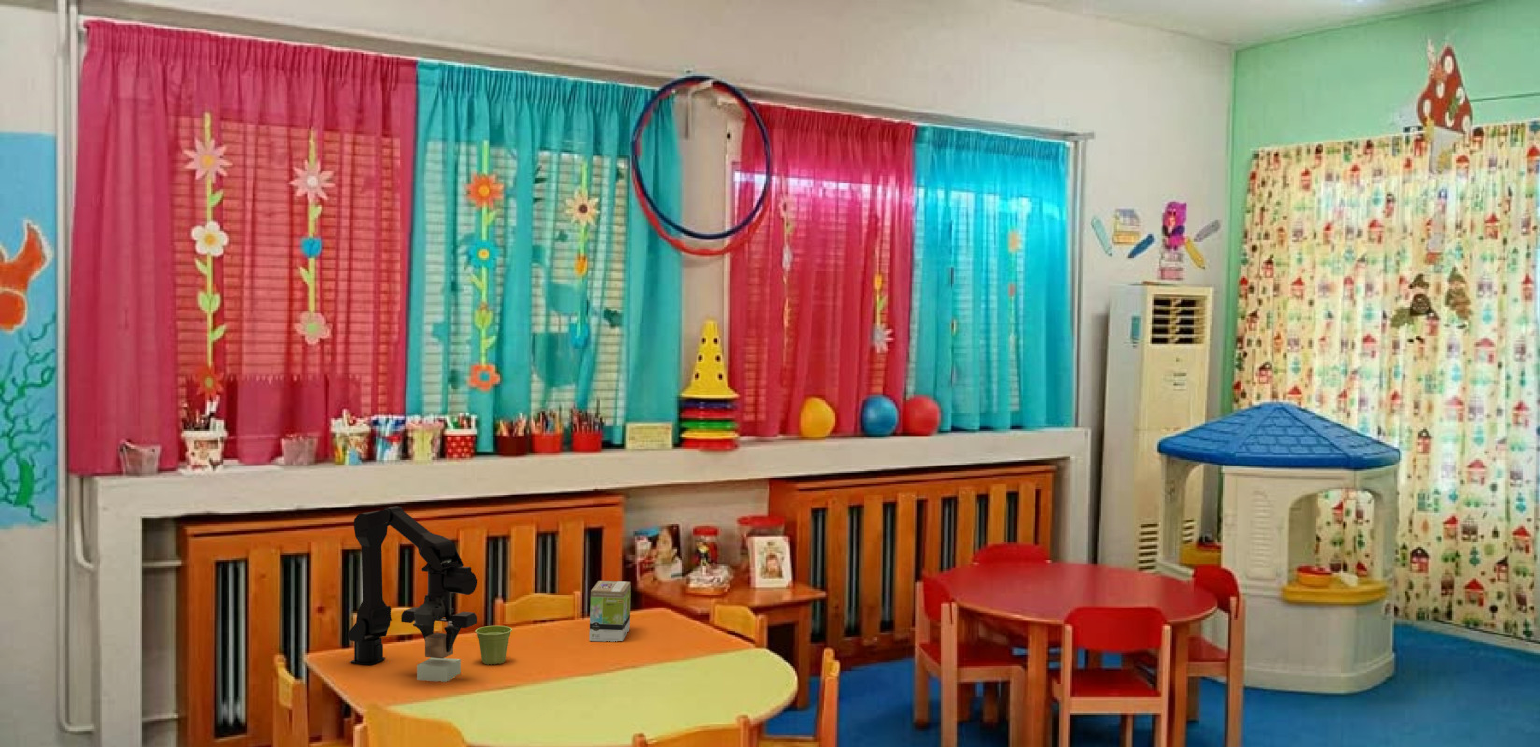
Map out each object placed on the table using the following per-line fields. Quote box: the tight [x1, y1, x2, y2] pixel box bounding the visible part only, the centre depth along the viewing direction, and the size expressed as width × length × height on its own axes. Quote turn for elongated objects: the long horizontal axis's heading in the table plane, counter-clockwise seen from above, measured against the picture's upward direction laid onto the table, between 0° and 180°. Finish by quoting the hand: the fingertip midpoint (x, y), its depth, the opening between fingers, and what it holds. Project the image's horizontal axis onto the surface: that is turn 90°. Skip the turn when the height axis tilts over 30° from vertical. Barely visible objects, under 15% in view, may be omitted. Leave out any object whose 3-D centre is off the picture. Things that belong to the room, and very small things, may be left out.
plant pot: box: [474, 625, 513, 666], centre depth 339 cm, size 9×9×9 cm
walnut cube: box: [424, 632, 454, 659], centre depth 324 cm, size 5×5×5 cm
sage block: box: [416, 657, 462, 683], centre depth 324 cm, size 8×8×4 cm
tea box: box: [588, 580, 632, 643], centre depth 369 cm, size 15×10×15 cm
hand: (439, 651), depth 324 cm, fingers closed on walnut cube, 5 cm apart
